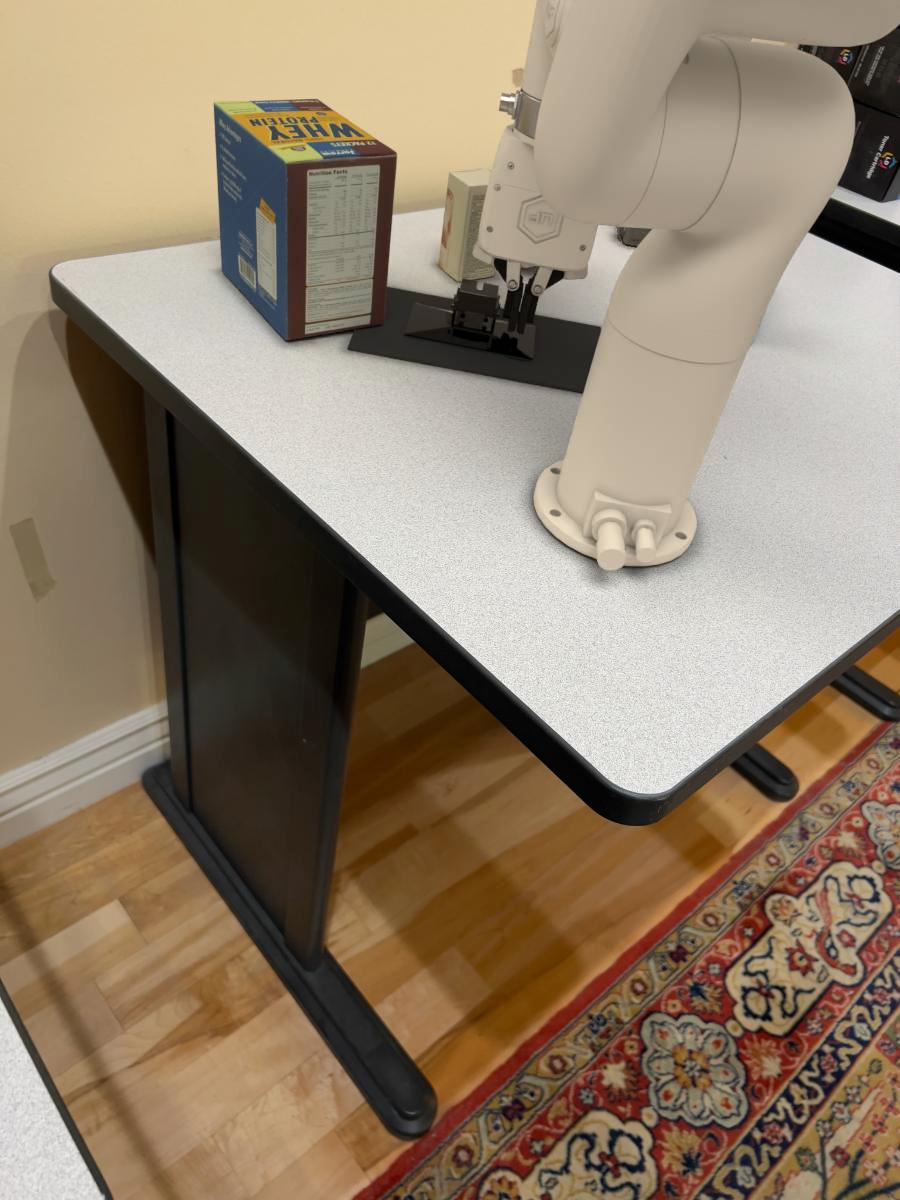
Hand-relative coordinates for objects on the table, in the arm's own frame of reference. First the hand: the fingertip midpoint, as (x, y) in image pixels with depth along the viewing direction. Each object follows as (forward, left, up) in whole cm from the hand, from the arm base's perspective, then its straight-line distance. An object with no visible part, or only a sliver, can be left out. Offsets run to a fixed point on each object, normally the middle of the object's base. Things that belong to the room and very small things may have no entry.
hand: (516, 326), depth 86 cm
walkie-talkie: (+36, -15, -2) cm, 39 cm away
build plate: (0, +4, -2) cm, 4 cm away
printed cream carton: (+15, +6, -2) cm, 16 cm away
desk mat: (0, +3, -2) cm, 4 cm away
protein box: (+1, +21, -2) cm, 21 cm away
